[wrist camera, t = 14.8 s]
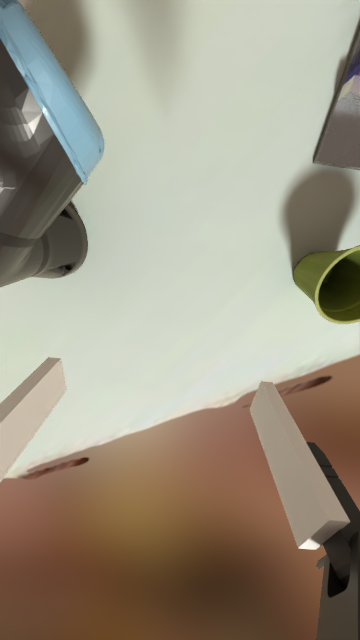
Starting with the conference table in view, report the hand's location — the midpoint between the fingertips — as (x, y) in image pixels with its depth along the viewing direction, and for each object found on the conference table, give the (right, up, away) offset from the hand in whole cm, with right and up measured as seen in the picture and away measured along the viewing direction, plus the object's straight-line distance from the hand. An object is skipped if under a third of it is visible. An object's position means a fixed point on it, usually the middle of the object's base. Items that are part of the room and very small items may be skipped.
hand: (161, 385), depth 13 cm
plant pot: (+27, +14, +25) cm, 39 cm away
